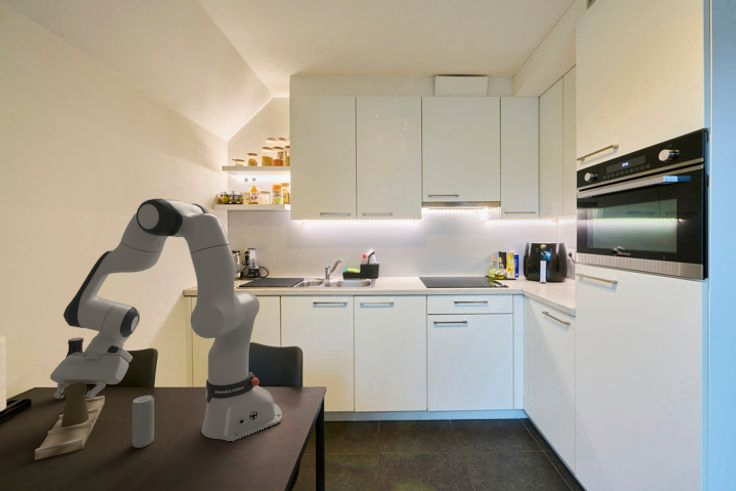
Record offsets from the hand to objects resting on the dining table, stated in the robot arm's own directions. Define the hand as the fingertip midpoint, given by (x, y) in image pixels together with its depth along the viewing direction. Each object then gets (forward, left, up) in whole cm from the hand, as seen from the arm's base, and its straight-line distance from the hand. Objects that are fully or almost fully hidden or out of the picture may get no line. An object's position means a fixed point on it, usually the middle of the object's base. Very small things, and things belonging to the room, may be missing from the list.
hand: (73, 397), depth 93 cm
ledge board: (0, 0, -9) cm, 9 cm away
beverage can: (-18, +19, -9) cm, 28 cm away
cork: (0, 0, -7) cm, 7 cm away
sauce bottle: (+6, -27, -9) cm, 29 cm away
